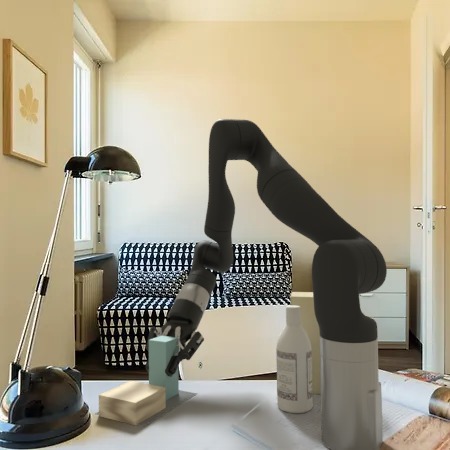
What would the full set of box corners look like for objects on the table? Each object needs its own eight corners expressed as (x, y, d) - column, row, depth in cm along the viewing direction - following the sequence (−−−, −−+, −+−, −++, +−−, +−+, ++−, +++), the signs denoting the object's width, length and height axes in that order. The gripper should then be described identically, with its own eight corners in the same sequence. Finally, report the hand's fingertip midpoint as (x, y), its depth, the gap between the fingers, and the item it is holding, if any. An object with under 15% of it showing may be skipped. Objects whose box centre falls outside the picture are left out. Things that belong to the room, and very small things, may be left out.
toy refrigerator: (325, 395, 91) (323, 296, 92) (291, 393, 93) (289, 296, 93) (324, 382, 99) (322, 292, 100) (292, 381, 100) (291, 291, 101)
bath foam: (303, 399, 89) (301, 303, 90) (318, 412, 82) (316, 307, 83) (272, 402, 87) (270, 304, 88) (285, 416, 80) (283, 309, 81)
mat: (197, 394, 92) (197, 393, 92) (143, 427, 76) (143, 426, 76) (153, 386, 98) (153, 385, 98) (94, 415, 82) (94, 413, 82)
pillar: (178, 393, 92) (178, 337, 93) (166, 400, 88) (165, 342, 89) (161, 390, 94) (161, 335, 95) (149, 396, 90) (148, 339, 91)
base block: (165, 407, 84) (165, 387, 85) (135, 425, 77) (135, 402, 77) (130, 400, 89) (130, 380, 89) (98, 416, 81) (98, 394, 81)
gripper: (158, 295, 102) (123, 359, 91) (209, 299, 95) (178, 368, 84) (171, 314, 107) (140, 377, 95) (221, 318, 100) (193, 387, 89)
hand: (158, 372), depth 90 cm, fingers closed on pillar, 4 cm apart
